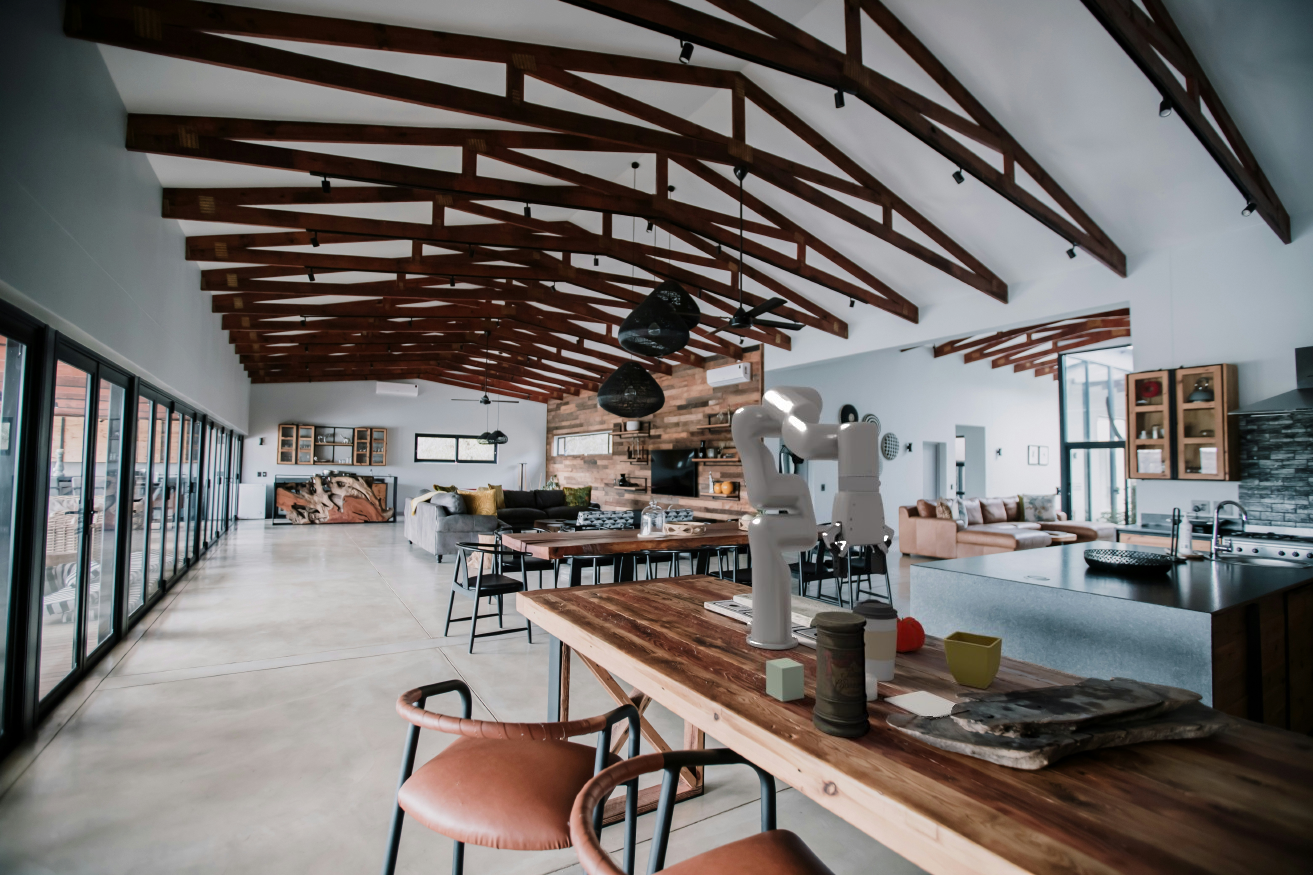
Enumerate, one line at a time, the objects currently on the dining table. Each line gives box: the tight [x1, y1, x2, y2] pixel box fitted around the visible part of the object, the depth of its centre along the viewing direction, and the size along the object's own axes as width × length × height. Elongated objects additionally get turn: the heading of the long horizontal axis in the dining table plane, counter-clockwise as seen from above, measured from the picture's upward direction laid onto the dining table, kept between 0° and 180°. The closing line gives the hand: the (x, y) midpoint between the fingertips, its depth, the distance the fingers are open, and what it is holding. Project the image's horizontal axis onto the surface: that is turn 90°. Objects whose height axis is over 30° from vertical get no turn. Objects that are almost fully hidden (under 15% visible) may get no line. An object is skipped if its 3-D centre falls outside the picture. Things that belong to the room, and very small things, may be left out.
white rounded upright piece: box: [866, 673, 878, 702], centre depth 115 cm, size 6×6×4 cm
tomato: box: [896, 616, 926, 653], centre depth 145 cm, size 9×9×8 cm
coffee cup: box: [851, 598, 899, 682], centre depth 127 cm, size 9×9×15 cm
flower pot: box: [942, 630, 1003, 690], centre depth 122 cm, size 9×9×9 cm
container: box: [812, 611, 871, 738], centre depth 101 cm, size 9×9×18 cm
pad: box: [884, 690, 957, 718], centre depth 110 cm, size 10×10×1 cm
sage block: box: [765, 657, 805, 703], centre depth 115 cm, size 5×5×6 cm
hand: (860, 575), depth 117 cm, fingers open, 9 cm apart
